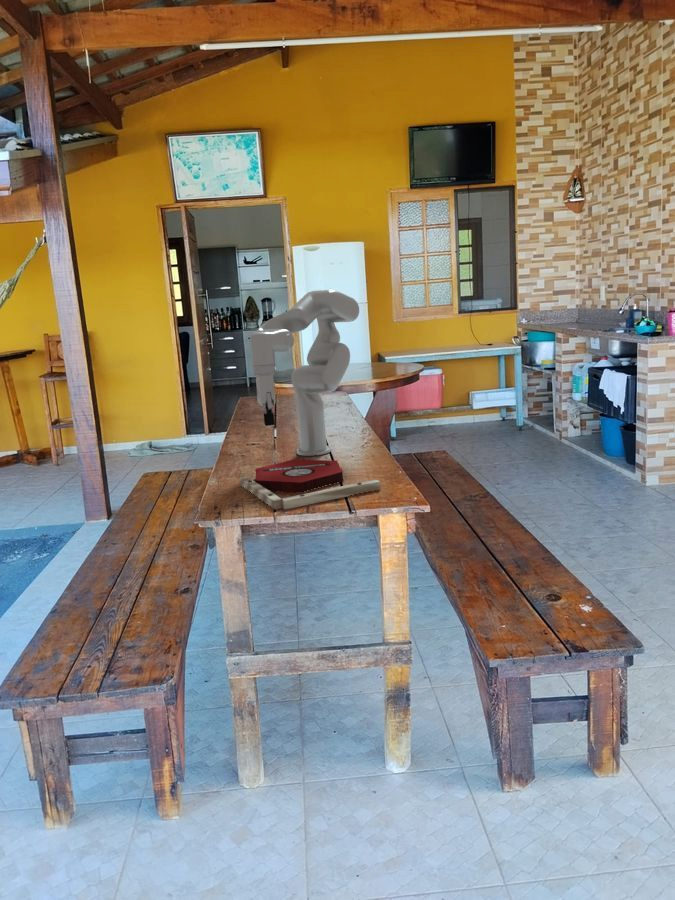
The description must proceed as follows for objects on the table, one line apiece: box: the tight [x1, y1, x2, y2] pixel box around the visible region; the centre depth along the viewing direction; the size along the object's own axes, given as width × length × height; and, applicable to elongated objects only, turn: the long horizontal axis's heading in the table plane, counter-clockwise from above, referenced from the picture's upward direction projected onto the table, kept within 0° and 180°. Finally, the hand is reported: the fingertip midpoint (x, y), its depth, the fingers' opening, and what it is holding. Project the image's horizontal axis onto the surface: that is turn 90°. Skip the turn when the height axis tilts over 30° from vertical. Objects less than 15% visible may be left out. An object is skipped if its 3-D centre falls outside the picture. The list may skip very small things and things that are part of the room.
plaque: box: [255, 459, 344, 493], centre depth 231 cm, size 27×4×30 cm
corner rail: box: [239, 476, 381, 510], centre depth 221 cm, size 32×32×3 cm
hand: (269, 424), depth 244 cm, fingers closed
